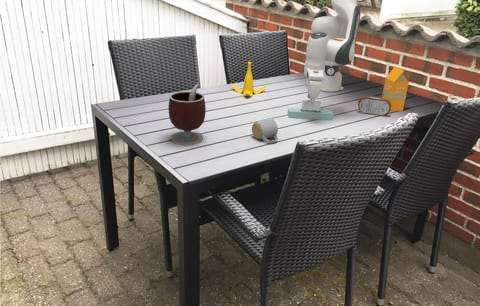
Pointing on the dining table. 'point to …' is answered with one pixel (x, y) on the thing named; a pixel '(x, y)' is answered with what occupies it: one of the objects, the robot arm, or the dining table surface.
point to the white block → (311, 106)
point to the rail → (310, 114)
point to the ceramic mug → (265, 130)
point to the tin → (374, 105)
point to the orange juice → (396, 89)
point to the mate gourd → (187, 116)
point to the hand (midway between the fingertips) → (310, 101)
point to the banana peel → (248, 84)
